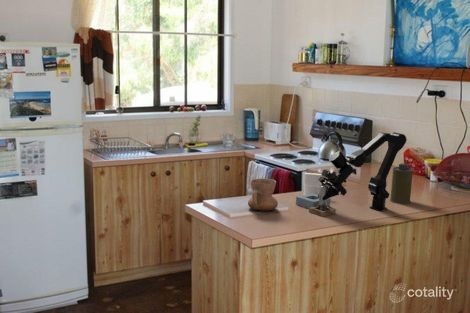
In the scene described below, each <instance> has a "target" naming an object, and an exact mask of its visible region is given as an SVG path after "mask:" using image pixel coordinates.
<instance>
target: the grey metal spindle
mask: <svg viewBox="0 0 470 313" xmlns="http://www.w3.org/2000/svg"><path fill="white" fill-rule="evenodd" d="M327 191H328V186H325V185H322V184H321V186H320V188H319V204H318V210H321V211H325V210H327V199H326V200H322V198H323V197H324V195H325V194H326V193H327Z"/></svg>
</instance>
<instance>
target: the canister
mask: <svg viewBox="0 0 470 313" xmlns="http://www.w3.org/2000/svg"><path fill="white" fill-rule="evenodd" d="M413 172H414V169H413V168H410V167H409V166H408V164H407V163H402V162H401V163H399V164H398V166H394V167H392V177H391V189H390V191H391V192H390V199H389V201H390V202H391V203H394V204H399V203H401V204H402V205H407V204H406V203H408V204H410V203H411V195H412V194H411V193H412V182H413ZM401 204H400V205H401Z"/></svg>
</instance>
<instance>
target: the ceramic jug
mask: <svg viewBox="0 0 470 313" xmlns="http://www.w3.org/2000/svg"><path fill="white" fill-rule="evenodd" d="M276 185H277V181H276V180H275V179H272V178H271V179H270V178H267V177H265V178H263V177H261V178H253V179H252V180H250V186H251V190H252V192H251V197H250V198H249V200H248V201H247V205H248V207H249V208H250V209H252V210H254V209H255V210H254V211H257V210H262V211H261V212H270V210H271V211H273V210H275V209H277V207H278V205H279V202H278V200H277V199H276V198H275V197H274V196H273V193H274V191H275V189H276Z"/></svg>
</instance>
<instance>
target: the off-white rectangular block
mask: <svg viewBox="0 0 470 313" xmlns="http://www.w3.org/2000/svg"><path fill="white" fill-rule="evenodd" d="M321 174H322V173H313V172H305V173H304V183H303V184H304V185H303V186H304V187H303V195H308V194H316V195H319V188H320V186H321V185H322V184H321V182H320V181H319V180H318V179H319V178H320V177H321V176H322V175H321Z"/></svg>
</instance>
